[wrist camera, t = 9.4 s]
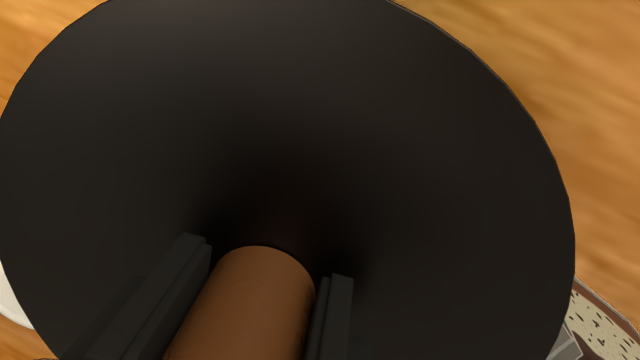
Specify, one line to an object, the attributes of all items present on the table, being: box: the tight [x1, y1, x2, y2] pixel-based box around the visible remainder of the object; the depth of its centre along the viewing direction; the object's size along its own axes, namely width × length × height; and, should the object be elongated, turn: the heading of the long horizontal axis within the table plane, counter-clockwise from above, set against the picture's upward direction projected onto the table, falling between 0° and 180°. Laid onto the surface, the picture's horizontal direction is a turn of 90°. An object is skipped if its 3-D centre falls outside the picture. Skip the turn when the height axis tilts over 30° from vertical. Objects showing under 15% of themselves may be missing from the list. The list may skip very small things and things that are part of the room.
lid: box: [0, 0, 575, 360], centre depth 10 cm, size 15×15×6 cm
